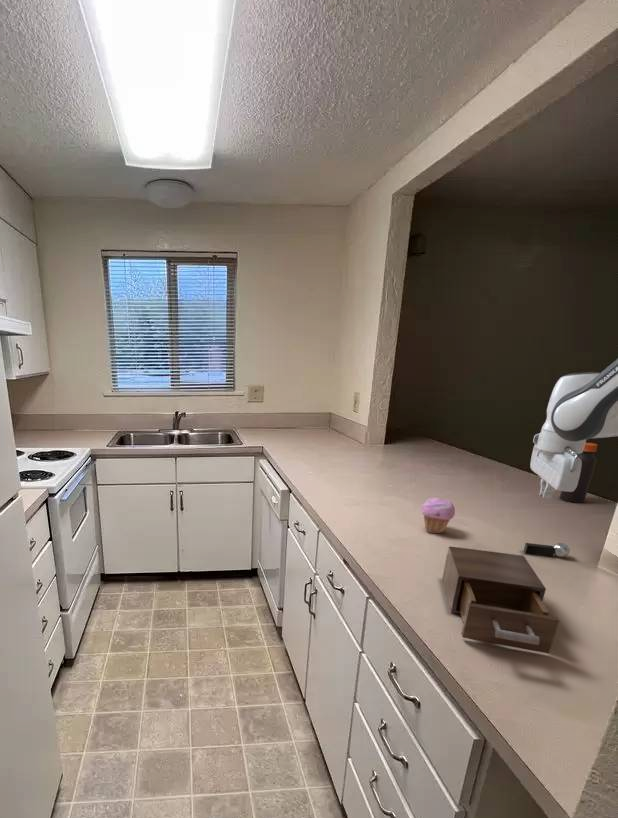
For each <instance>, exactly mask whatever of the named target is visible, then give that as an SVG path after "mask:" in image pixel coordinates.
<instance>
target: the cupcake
mask: <svg viewBox="0 0 618 818" xmlns="http://www.w3.org/2000/svg"><path fill="white" fill-rule="evenodd" d="M420 510H421V514H422V515H423V519H424V528H425V530H426V532H427V533H430V534H441V533H443V532H444V531H445V530H446V528H447V526H448V524H449V522H450V520H452V519H453V518H454V516H455V513H456V509H455V506H454V503H452V501H450V500H447V499H444V498H441V497H430V498H428V499H427V500H426V501H425V502H423V504H422V505H421V509H420Z"/></svg>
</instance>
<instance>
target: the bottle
mask: <svg viewBox="0 0 618 818" xmlns="http://www.w3.org/2000/svg"><path fill="white" fill-rule="evenodd" d="M598 446H599V445H598V444H597V443H593V442H586V443H585V446H584V450H583V452H582V453H580V454H578V455H577V456H578V458H580V459H581V461H582V467H581V472H580V477H579V481H578V484H577V487H576V489H575V490H574V491H573V492H567V491H560V495H559V499H560V500H562V501H564V502H567V503H573V504H582V503H584V502H585V500H586V497H587V494H588V491H589V487H590V484H591V480H592V477H593V474H594V470H595V467H596V464H597V461H598V460H597V458H596V457H595V456H594V454H595V453H596V452H597V450H598Z"/></svg>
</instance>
